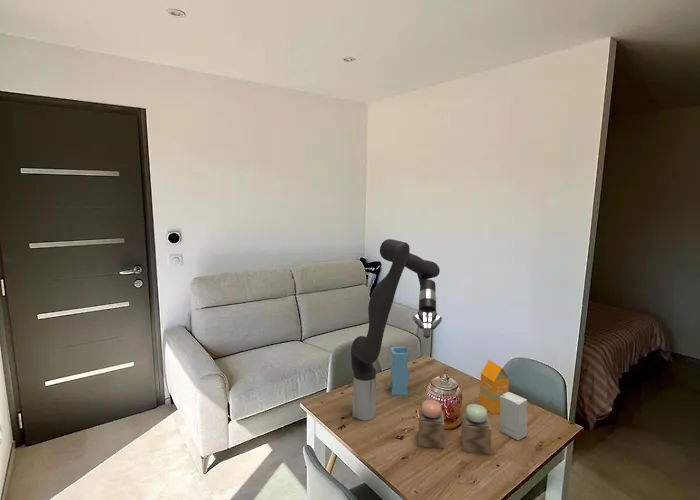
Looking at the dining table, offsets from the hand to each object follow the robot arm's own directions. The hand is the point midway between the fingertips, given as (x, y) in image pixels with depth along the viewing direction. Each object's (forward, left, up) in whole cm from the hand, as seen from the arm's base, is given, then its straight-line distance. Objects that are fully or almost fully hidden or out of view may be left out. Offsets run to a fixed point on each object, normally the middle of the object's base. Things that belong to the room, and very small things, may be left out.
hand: (427, 337), depth 161 cm
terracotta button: (+2, -22, -21) cm, 30 cm away
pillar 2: (+18, -22, -32) cm, 43 cm away
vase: (-12, +13, -32) cm, 37 cm away
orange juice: (+29, +6, -32) cm, 44 cm away
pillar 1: (+2, -22, -32) cm, 39 cm away
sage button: (+18, -22, -21) cm, 35 cm away
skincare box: (+33, -12, -32) cm, 48 cm away
